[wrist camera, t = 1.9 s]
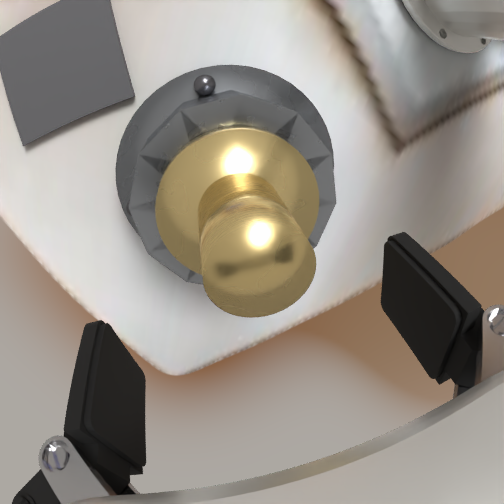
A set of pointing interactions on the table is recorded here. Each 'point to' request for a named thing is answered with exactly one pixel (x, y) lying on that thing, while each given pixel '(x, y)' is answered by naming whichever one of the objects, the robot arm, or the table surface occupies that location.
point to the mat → (63, 66)
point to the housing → (207, 119)
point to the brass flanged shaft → (241, 218)
